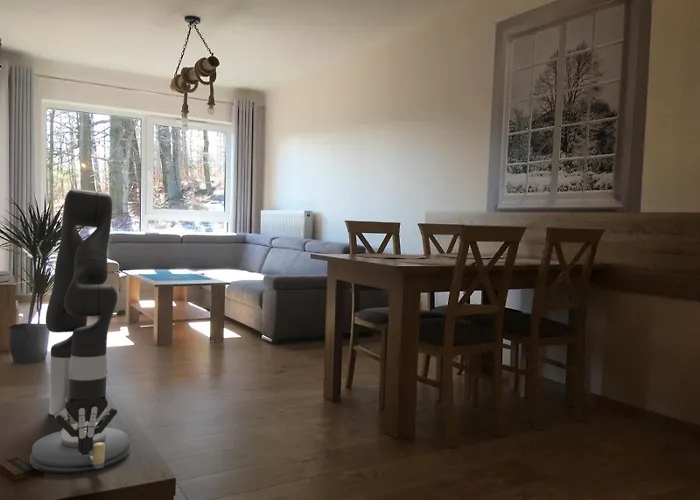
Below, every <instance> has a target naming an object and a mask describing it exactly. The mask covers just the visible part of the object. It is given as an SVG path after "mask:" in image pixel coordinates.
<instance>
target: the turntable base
mask: <svg viewBox="0 0 700 500" xmlns="http://www.w3.org/2000/svg"><path fill="white" fill-rule="evenodd" d="M130 448H131V447H130V443H129V442H128V446H127V449H126V450H125V451H124V452H123V453H122V454H120V455H118V456H117V457H114V458H112V459H110V460H107V461H104V467H103V468H98V469H96V468H95V467H94V466H93V465H92V464H91V465H85V466H77V467H53V466H46V465H42V464H40V463H37V462H36V461H34V459H33V458H32V452H31V453H30V455H29V465H30V464H31V465H32V466H34V467H36V468H38V469H39V470H40V471H39V472H40V473H41V472H42V473H45V474H50V475H51V474H52V475H72V474H73V475H74V474H75V475H76V474H83V473H90V472H93V471H94V472H95V471H98V470H103V469H107V468H109V467H112V466H114V465H116V464H118V463H121V462H123V461H124V460H125V459H126V458H127V457H128V455H129V454H130V451H131V449H130ZM31 465H30V466H31Z"/></svg>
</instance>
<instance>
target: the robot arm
mask: <svg viewBox="0 0 700 500" xmlns="http://www.w3.org/2000/svg"><path fill="white" fill-rule="evenodd" d="M112 216H113V200H112V197H111V196H110V195H109V194H108V193H105V192H101V191H96V190H87V189H81V188H79V189H78V188H72V189H69V191H67V193H66V195H65V199H64V203H63V212H62V223H61V224H62V225H61V236H60V242H59V247H58V251H57V256H56V260H55V267H54V273H53V274H54V276H53V282H52V283H53V284H52V291H51V292H50V293H51V294H50V298H49V301H48V303H47V304H48V305H47V308H46V315H45V325H46V328H47V330H48V331H49V332H51V333H72V334H71V335H70V336H69V337H68V338H66V339H64V340H62V341H59V342H57V343H55V344H53V345H52V346H51V348H50V374H49V377H50V378H49V400H48V401H49V406H48V414H49V415H51V416H54V418H55V420H56V422H57V423H58V424H59V425H60V426H61V427H62V429H63V428H64V429H65V430H66V431H67V432H68V433H69V435H70V436H71V437H78V451H79V453H81V454H82V455H87V454H89V451H92V449H93V437H94V435H96V434H98V433H101V432H102V431H103V430H104V429H105V427H107V426H108V425H109V424H110V423H111V421H112V420H113V419H114V417H115V416H116V415H117V414H118V410H117V409H116V408H115V406H112V405H110V404H109V402H108V399H107V398H106V397H107V396H106V395H107V374H108V361H107V347H108V346H107V344H108V331H109V327H110V324H111V320H112V317H113V315H114V312H115V308H116V306H117V303H118V293H117V290H116V289H115V287H114V286H112V285H110V284H104V283H106V281H107V279H108V274H109V273H108V247H109V240H110V235H111V234H110V232H111V228H112V226H111V225H112V218H113V217H112ZM79 226H80V227H87V228H88V227H90V228H95V230H94V231H93V232H92V233H91V234H90V235H89V236H87V237H86V238H85V239H83V237H82V235H81V234H80V233H79V230H78V227H79ZM88 317H98V319H97V321H95V323H92V324H89V325H87V324H88ZM66 397H68V401H67V402H66V401H65V398H66ZM102 413H103V414H104V415H103V416H102V418H100V416H101V415H102ZM69 414H70V415H71V417H72V418H73V419H74V420H75V421H76V422H77V429H78V430H77V429H74V428H73V427H72V426H71V424H70V422H69V421H68V419H69ZM99 418H100V420H99V421H98V424H97V425H96V426H95V423H96V422H97V421H96V419H99ZM86 421H87V427H86V435H85V422H86Z"/></svg>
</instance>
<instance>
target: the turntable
mask: <svg viewBox="0 0 700 500" xmlns="http://www.w3.org/2000/svg"><path fill="white" fill-rule="evenodd" d="M128 443H129V437H128V434H127V433H126V432H125V431H124V430H121V429H118V428H113V427H107V426H106V440H105V442H103V443H102V442H99V443H95V444H93V449H92V451H89V454H87V455H82V454H81V453H79V451H78V449H73V448H66V447H63V446H62V445H61V430H59V431H55V432H53V433H50V434H48V435H45V436H42V437H41V438H39V439H37V440H36V441H35V442H34V443H33V444H32V448H31V449H32V450H31V453H32V458H33V459H34V461H36V462H37V463H40V464H42V465H46V466H53V467H77V466H85V465H91V464H92V465H93V466H94V467H95V468H96V469H98V468H103V467H104V461H107V460H110V459H112V458H114V457H117V456H118V455H120V454H122V453H123V452H124V451H125V450H126V449H127V446H128ZM103 469H104V468H103Z"/></svg>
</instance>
